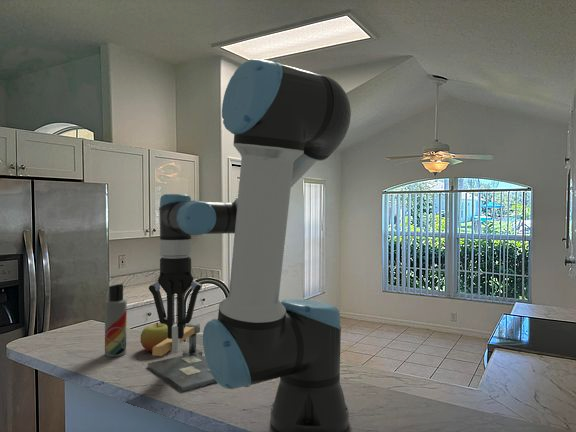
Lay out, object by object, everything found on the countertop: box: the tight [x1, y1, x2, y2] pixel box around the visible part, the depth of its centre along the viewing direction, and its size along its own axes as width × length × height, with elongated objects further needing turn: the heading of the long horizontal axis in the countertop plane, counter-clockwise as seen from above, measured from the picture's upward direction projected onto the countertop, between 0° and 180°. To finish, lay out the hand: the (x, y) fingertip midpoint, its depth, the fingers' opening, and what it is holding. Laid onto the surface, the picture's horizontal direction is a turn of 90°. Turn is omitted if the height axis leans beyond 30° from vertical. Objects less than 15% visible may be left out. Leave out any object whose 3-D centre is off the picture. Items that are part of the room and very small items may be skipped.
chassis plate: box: [147, 353, 218, 393], centre depth 107 cm, size 20×14×1 cm
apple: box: [139, 322, 168, 353], centre depth 124 cm, size 10×10×8 cm
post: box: [182, 333, 203, 356], centre depth 120 cm, size 4×4×6 cm
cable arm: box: [151, 322, 201, 357], centre depth 111 cm, size 24×4×2 cm, turn 170°
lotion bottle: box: [104, 283, 128, 358], centre depth 120 cm, size 6×6×20 cm
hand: (175, 351), depth 104 cm, fingers closed
